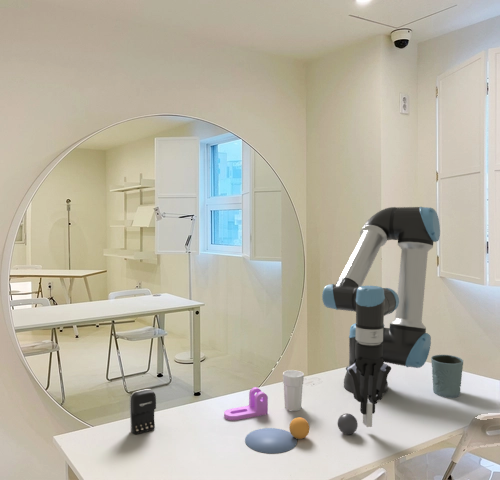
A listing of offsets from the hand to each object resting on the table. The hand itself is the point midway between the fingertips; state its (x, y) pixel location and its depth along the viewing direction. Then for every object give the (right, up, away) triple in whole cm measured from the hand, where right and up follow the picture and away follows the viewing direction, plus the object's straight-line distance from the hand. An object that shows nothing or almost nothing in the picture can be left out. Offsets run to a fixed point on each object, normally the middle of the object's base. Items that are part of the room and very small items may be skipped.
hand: (367, 424), depth 135 cm
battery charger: (-63, -2, 0) cm, 63 cm away
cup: (-19, -1, +17) cm, 26 cm away
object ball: (-19, 0, -3) cm, 20 cm away
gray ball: (-6, 0, -1) cm, 6 cm away
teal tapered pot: (+34, -1, +30) cm, 45 cm away
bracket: (-35, -2, +12) cm, 37 cm away
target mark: (-27, -2, -5) cm, 28 cm away
